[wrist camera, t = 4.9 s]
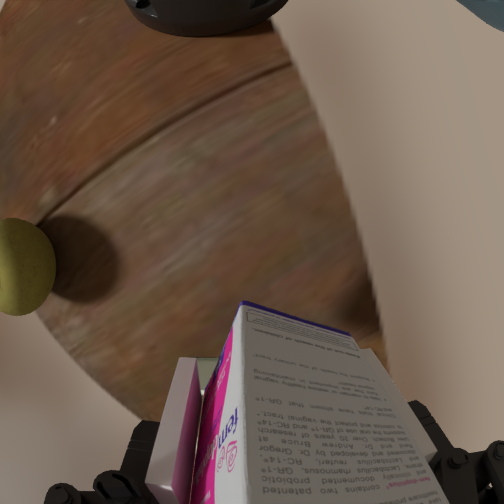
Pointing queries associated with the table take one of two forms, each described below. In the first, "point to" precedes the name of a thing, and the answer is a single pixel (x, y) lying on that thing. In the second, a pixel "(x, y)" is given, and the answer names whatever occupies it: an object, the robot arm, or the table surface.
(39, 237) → the apple
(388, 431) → the supplement box
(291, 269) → the table surface
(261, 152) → the table surface
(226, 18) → the robot arm
